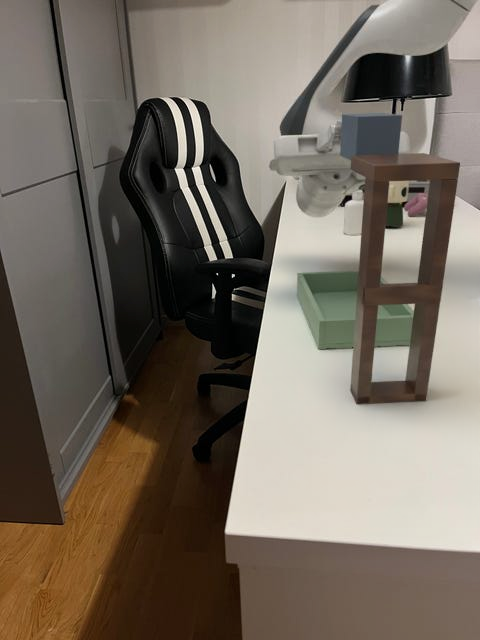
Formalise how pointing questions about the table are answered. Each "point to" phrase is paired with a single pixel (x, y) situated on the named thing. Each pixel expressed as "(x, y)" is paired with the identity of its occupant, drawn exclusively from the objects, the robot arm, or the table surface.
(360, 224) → the eye dropper bottle
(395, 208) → the character mug
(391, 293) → the shelf stand
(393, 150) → the slate grey square prism
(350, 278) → the tray
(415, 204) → the video game controller
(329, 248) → the table surface
